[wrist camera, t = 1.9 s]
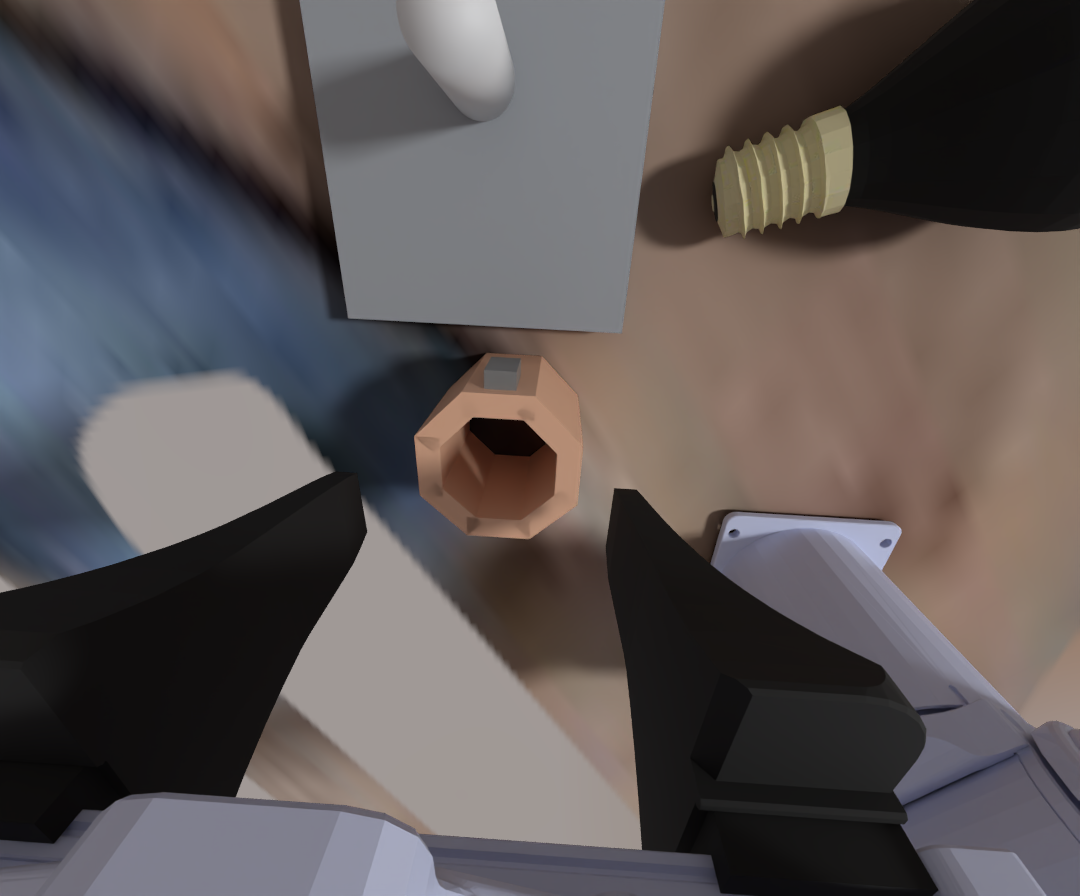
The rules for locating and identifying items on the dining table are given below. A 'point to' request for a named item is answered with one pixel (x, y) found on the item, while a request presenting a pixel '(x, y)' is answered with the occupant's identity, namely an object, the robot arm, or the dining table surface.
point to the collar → (502, 480)
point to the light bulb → (936, 134)
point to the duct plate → (484, 155)
